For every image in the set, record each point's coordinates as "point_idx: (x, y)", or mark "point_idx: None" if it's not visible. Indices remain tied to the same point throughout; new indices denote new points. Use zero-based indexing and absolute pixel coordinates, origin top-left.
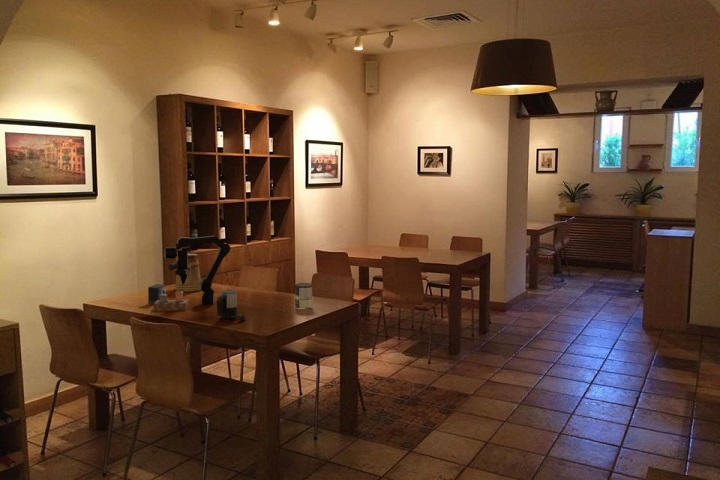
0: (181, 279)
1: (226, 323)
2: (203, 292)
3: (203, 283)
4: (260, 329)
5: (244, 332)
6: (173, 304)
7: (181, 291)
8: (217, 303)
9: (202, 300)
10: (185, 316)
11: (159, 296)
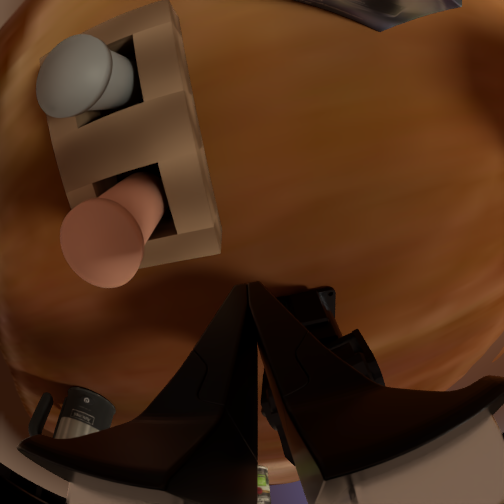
0: (197, 353)
1: (45, 392)
2: (352, 331)
3: (279, 432)
4: (55, 426)
5: (27, 407)
6: (69, 190)
7: (127, 264)
8: (30, 421)
9: (292, 309)
10: (26, 287)
11: (51, 59)
